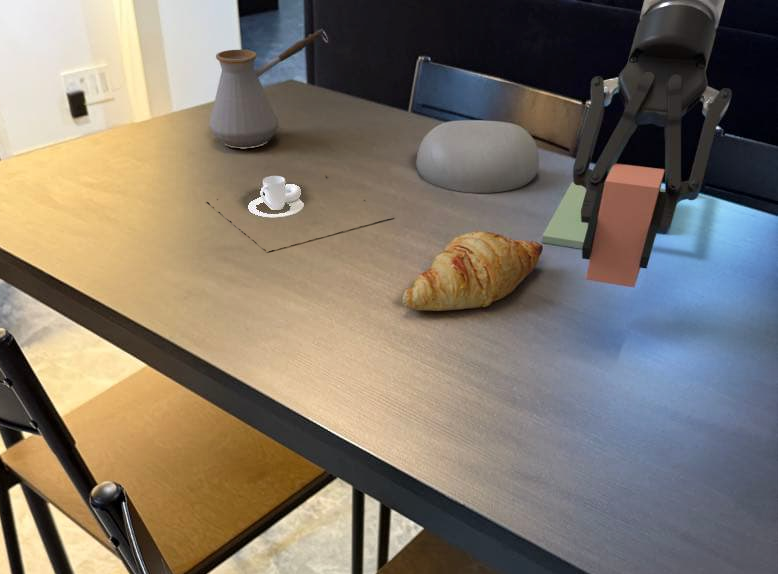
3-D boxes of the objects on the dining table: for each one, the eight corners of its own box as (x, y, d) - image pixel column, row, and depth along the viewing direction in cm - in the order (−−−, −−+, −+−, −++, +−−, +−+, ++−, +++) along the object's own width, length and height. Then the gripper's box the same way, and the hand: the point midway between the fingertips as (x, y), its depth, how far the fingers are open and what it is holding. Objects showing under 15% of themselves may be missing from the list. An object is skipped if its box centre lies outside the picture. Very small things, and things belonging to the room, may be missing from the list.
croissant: (419, 352, 89) (443, 309, 81) (372, 285, 90) (391, 238, 83) (547, 295, 97) (578, 252, 90) (502, 235, 99) (530, 188, 92)
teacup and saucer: (292, 193, 113) (290, 164, 110) (318, 211, 109) (317, 181, 106) (239, 205, 110) (235, 176, 107) (264, 225, 105) (260, 195, 102)
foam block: (640, 267, 82) (665, 169, 75) (634, 287, 78) (659, 187, 71) (593, 259, 83) (613, 163, 76) (585, 279, 80) (605, 180, 73)
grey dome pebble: (414, 138, 109) (421, 103, 120) (412, 191, 114) (419, 152, 125) (547, 143, 107) (542, 106, 119) (539, 196, 113) (535, 156, 124)
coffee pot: (223, 158, 124) (209, 51, 113) (203, 136, 131) (188, 34, 120) (343, 139, 130) (340, 36, 119) (318, 119, 137) (313, 20, 127)
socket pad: (709, 208, 109) (717, 182, 107) (697, 267, 96) (705, 240, 94) (570, 188, 114) (575, 164, 112) (541, 242, 101) (545, 216, 99)
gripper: (765, 59, 76) (703, 286, 77) (585, 44, 81) (528, 258, 82) (785, 6, 69) (715, 257, 70) (585, -7, 74) (523, 229, 75)
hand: (614, 257), depth 76 cm, fingers closed on foam block, 5 cm apart
